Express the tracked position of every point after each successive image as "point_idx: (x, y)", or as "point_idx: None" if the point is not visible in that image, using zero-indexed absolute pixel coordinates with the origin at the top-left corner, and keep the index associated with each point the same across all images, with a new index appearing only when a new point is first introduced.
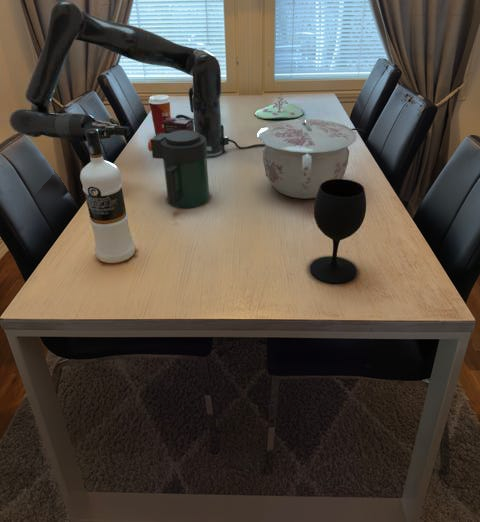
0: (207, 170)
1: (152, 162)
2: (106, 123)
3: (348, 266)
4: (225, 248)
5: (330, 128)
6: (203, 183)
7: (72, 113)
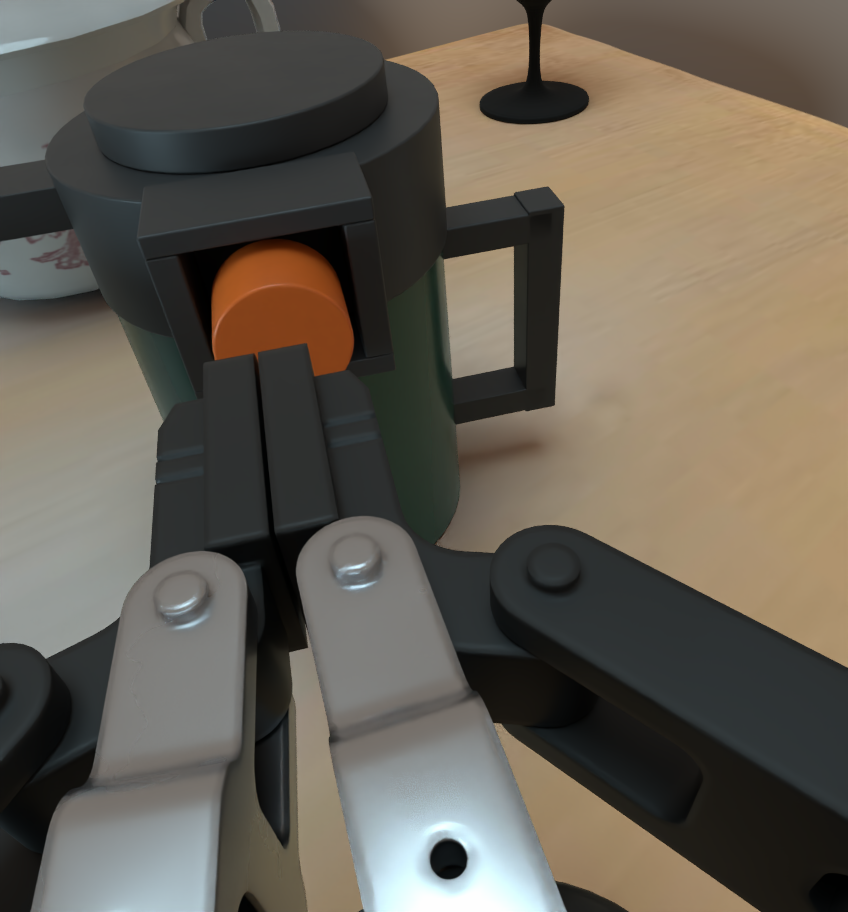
0: None
1: None
2: (225, 860)
3: (508, 88)
4: (621, 230)
5: None
6: None
7: None
